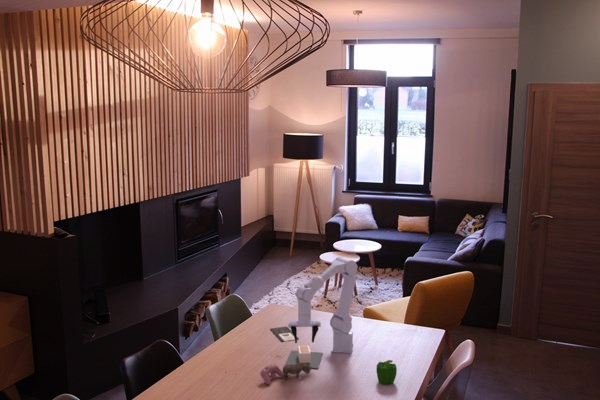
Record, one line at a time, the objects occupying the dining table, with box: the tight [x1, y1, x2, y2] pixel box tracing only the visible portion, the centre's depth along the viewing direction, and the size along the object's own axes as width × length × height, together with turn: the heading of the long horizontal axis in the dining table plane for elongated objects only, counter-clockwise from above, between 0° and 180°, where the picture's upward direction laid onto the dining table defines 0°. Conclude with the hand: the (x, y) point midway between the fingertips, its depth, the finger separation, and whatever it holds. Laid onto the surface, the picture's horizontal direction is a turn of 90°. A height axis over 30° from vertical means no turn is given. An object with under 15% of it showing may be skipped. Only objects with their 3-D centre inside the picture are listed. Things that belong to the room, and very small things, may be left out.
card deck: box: [297, 345, 312, 363], centre depth 256 cm, size 8×5×5 cm, turn 5°
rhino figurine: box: [282, 363, 313, 381], centre depth 239 cm, size 4×14×6 cm, turn 111°
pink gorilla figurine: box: [259, 364, 284, 386], centre depth 236 cm, size 10×5×7 cm, turn 143°
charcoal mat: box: [283, 350, 324, 370], centre depth 256 cm, size 15×17×1 cm
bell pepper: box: [376, 359, 398, 386], centre depth 234 cm, size 8×8×10 cm
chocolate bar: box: [270, 326, 299, 343], centre depth 287 cm, size 9×1×18 cm
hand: (304, 342), depth 255 cm, fingers open, 7 cm apart
